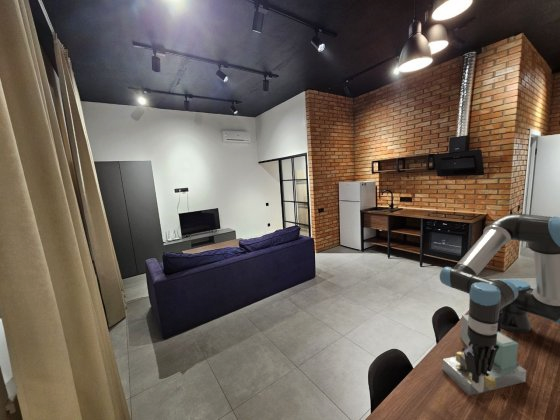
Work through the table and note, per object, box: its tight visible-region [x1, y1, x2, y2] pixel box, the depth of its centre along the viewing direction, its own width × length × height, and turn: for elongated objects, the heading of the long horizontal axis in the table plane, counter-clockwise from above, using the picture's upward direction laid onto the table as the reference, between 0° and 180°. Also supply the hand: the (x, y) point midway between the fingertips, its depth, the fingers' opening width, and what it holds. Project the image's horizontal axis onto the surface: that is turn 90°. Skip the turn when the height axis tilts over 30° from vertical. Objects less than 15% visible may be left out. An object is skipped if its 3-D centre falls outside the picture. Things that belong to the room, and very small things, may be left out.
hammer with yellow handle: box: [455, 351, 496, 391], centre depth 89 cm, size 3×14×5 cm, turn 9°
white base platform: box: [442, 355, 527, 396], centre depth 95 cm, size 25×12×6 cm, turn 99°
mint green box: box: [494, 331, 519, 369], centre depth 95 cm, size 7×7×10 cm
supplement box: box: [460, 314, 470, 348], centre depth 111 cm, size 7×7×13 cm
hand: (477, 388), depth 83 cm, fingers closed
